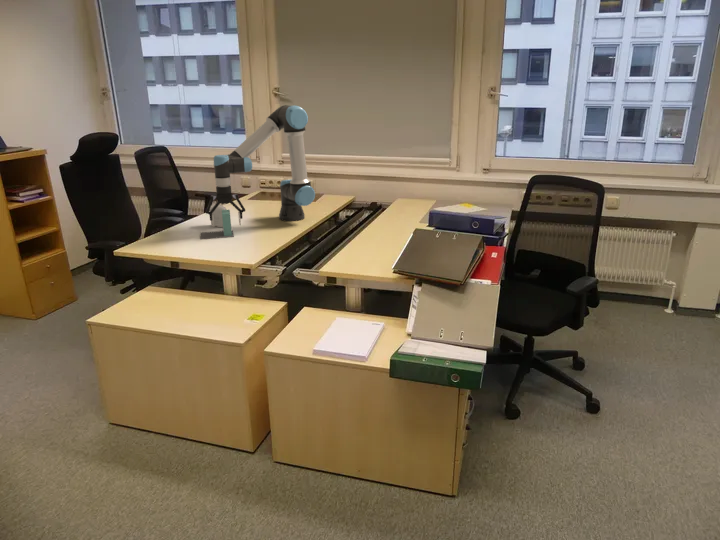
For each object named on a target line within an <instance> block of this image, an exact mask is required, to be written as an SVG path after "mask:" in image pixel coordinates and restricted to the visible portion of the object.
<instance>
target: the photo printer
mask: <svg viewBox="0 0 720 540" xmlns="http://www.w3.org/2000/svg"><path fill="white" fill-rule="evenodd" d="M214 206H215V204H212V205H211V207H210V210H209V211H211V210H212V208H213V207H214ZM222 210H227V208H226V206H224V205H223V204H219V205H218V207H217V208H216V209H215V210H214V212H213V213H212V214H213V216H214V227H218V228H223V218H222ZM210 225H211V226H212V227H213V222H212V221H210Z"/></svg>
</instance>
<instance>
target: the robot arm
mask: <svg viewBox="0 0 720 540" xmlns="http://www.w3.org/2000/svg"><path fill="white" fill-rule="evenodd" d="M308 120H309V117H308V113H307V112H306V110H305V109H304V108H302V107H301V106H299V105H287V104H284V105H281V106H280V107H277V108H276V109H275V110H274V111H273V112H272V113H271V114H269V115H268V116H267V117H266V121H265V122H264V123H263V124H261V126H259V127H258V128H257V129H256V130H255V131H254V132H253V133H251V135H249V136H248V137H247V138H246V139H245V140H244V141H243V142H242V143H241V144H240V145H238V146H237V147H236V148H235V149H234V150H233V151H232V152H231V153H229V154H217V155H214V156H213V168H214V178H215V179H214V180H215V188H216V190H215V191H216V195H213V194H211V195H210V200H209V203H208V205H207V208H206V210H205V214H206V215H209V220H210V222H211V221H212V222H213V226H212V227H213V228H215V226H214V216H213V214H212V213H213V212H214V210H215V209H216V208H217V207H218V205H223V204H229V203H230V205H232V207H234V208H235V209H236V210H237V211H238V215H237V216H238V224H239V226H241V225H242V223H241V219H243V212H246V208H245V207H244V205H243V202H241V200H240V198H239V195H238V194H237V193H235V194H232V186H231V183H232V182H231V174H236V173H237V174H238V173H249V172H251V171H252V170H253V162H252V159H251V158H250V156H251V155H252V154H253V153H255V152H256V150H258V149H259V147H261V146H262V145H263V144H264V143H265V142H266V141H267V140H269V139H270V138H271V137H272V136H273V135H274V134H275V133H279V132H280V131H281V130H283V133H284V134H285V135H286V136H287V142H288V144H287V145H288V152H289V162H290V169H291V171H290V173H291V179H283V180H281V181H280V186H279V188H280V200H281V201H280V202H281V203H280V204H281V205H280V209H279V214H278V219H279V220H280V219H281V221H284V220H285V222H287V221H288V222H294V221H295V222H296V220H297V221H301V219H302V220H304V219H305V218H306V215H305V212H304V209H303V207H306V206H309V205H311V204H312V203H313V202H314V201H315V198H316V192H315V191H316V190H314V188H313V187H312V181H311V179H310V178H309V177H308V170H307V161H306V152H305V151H306V150H305V139H304V134H305V132H306V130H307V129H306V127H307V124H308ZM233 198H234V199H235V200H236V203H238V205H239V206H240V207H239V206H238V205H237V204H236V203H235V202H234V201H233ZM215 199H216V200H217V201H216V203H215V204H214V205H215V206H214V207H213V208H212V210H211V211H210V207H211V205H213V201H214V200H215Z"/></svg>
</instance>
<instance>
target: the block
mask: <svg viewBox="0 0 720 540" xmlns="http://www.w3.org/2000/svg"><path fill="white" fill-rule="evenodd" d="M222 218H223V227H222V229H223V231H224V236H232V230H233V229H232V221H231V220H232V219H231V210H230V209H226V210H222Z"/></svg>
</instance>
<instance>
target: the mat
mask: <svg viewBox="0 0 720 540" xmlns="http://www.w3.org/2000/svg"><path fill="white" fill-rule="evenodd" d="M231 230H232V236H224V230H217V231H205V232H203V231H202V232H200V235H199V239H200V240H209V239H211V240H212V239H225V238H234V237H235V234H234V230H233V229H231Z"/></svg>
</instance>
